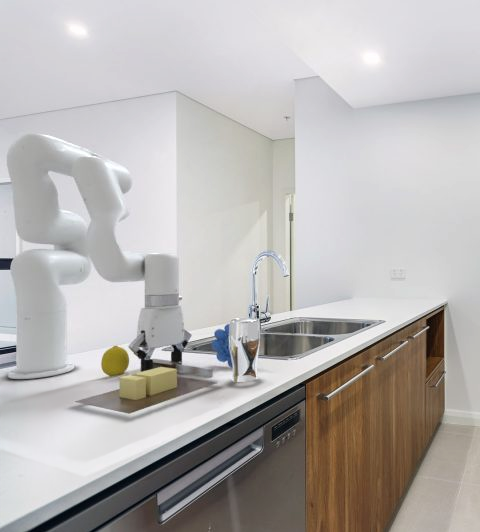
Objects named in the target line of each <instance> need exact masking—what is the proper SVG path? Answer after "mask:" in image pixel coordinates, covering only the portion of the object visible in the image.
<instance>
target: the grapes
mask: <svg viewBox="0 0 480 532" xmlns="http://www.w3.org/2000/svg"><path fill="white" fill-rule="evenodd" d="M229 326H230V323H226V324H225V326H224V329H223V328H222V329H221V328H218V329H216V330H215V331H214V332H213V333H214V338H215V339H214V340H212V341H211V343H210V346H211V349H212V350H214V351H215V352H217V353H216V354H215V355H216V359H217V360H218V361H219V362H221V363H225V362H227V365H228V366H229V367H230V368H232V369H233V366H232V360H231V354H230V349H229Z"/></svg>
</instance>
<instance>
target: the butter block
mask: <svg viewBox="0 0 480 532" xmlns="http://www.w3.org/2000/svg"><path fill="white" fill-rule="evenodd" d="M133 376H138V377H145V378H146V395H150V396H151V395H154V394H157V393H161V392H164V391H167V390H170V389H173V388H176V387H177V377H178V372H177V369H172V368H165V367H158V368H154V369H151V370H147V371H143V372H141V371H139V372H135V373H134V374H133Z"/></svg>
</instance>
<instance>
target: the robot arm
mask: <svg viewBox="0 0 480 532" xmlns="http://www.w3.org/2000/svg"><path fill="white" fill-rule="evenodd" d="M6 166H7V171H8V176H9V178H10V182H11V188H12V189H11V190H12V200H13V201H12V202H13V213H14V222H15V223H14V224H15V230H16V231H15V232H16V234H17V236H18V238H20V240H22V241H24V242H27V243H30V244H38V245H39V244H40V245H53V248H33V249H32V248H31V249H27V250H24V251H21V252H19V253H17V255H15V256H14V257H13V259H12V261H11V263H10V275H11V279H12V282H13V286H14V293H15V304H16V307H15V308H16V310H15V311H16V357H15V358H14V361H15V363H16V368H14V369H12V370H9V371H8V372H7V377H8V378H9V379H12V380H30V379H31V380H32V379H40V378H48V377H51V376H58V375H61V374H65V373H68V372H71V371H73V370H74V369H75V364H74V363H73V362H68V351H67V350H68V347H67V345H68V344H67V343H68V342H67V341H68V340H67V339H68V335H67V334H68V330H67V329H68V324H67V323H68V322H67V321H68V318H67V317H68V312H67V300H66V299H67V298H66V296H65V293H64V292H63V290H62V288H61V286H71V285H78V284H81V283H84V282H85V281H86V280H87V279H88V277H89V276H90V274H91V271H92V265H93V267H94V270H95V271H96V272H97V274H98V275H99V276H100V278H102V279H103V280H105V281H107V282H110V283H128V282H132V283H133V282H134V283H135V282H144V307H141V308H140V311H139V315H138V321H137V329H136V338H134V339H133V340H132V341H131V342H130V343H129V344H128V349H129V350H130V351H131V352H132V353H133V354H134V355H135V356H136V357H137V358H138V359H139V360H140V372H143V371H147V370H151V369H153V360H152V359H153V358H152V355H153V354H154V351H155V349H159V348H164V347H169V346H170V347H171V349H172V351H171V352H170V361H176V362H181V365H183V353H184V351H185V348H186V347H187V345H188V343H189V341H190V339H191V338H192V333H190V332H189V331H188V330H186V329H185V321H184V315H183V310H182V309H183V308H182V305H180V301H182V300H183V297H182V295H180V258H179V256H178V255H177V254H176V253H172V252H150V253H147V252H137V251H123V250H122V248H121V245H120V243H119V240H118V238H117V233H116V228H117V225H118V223H119V222H122V221H123V220H126V219H127V218H128V217H129V216H130V213H131V210H130V208H129V207H130V206H129V205H128V203H127V200H126V198H125V195H124V194H126V193H128V192H129V191H130V190H131V188H132V186H133V177H132V174H131V172H130V171H129V170H128V169H127V167H125V166H124V165H122V164H120V163H118V162H115V161H114V160H110V159H108V158H106V157H104V156H102V155H100V154H98V153H95V152H94V151H91V150H89V149H88V148H84V147H82V146H80V145H76V144H74V143H70V142H67V141H65V140H63V139H59V138H57V137H54V136H51V135H48V134H43V133H37V132H36V133H35V132H34V133H33V132H32V133H24V134H23V135H21V136H18V137H17V138H16V139H15V140H14V141H12V143H11V144H10V146H9V148H8V150H7V153H6ZM49 172H51V173H52V172H53V173H56V174H60V175H64V176H67V177H71V178H73V180H74V182H75V185H76V187H77V189H78V192H79V194H80V196H81V199H82V201H83V204H84V206H85V209H86V210H87V213H88V215H89V218H90V221H89V224H87V222H86V221H85V219H84V217H82V216H81V215H80V214H78V213H76V212H73V211H69V210H64V209H61V208H60V204H59V193H58V189H57V187H56V184H55V183H54V181H53V179H52V178H51V177H50V175H49Z"/></svg>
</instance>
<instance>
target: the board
mask: <svg viewBox="0 0 480 532" xmlns="http://www.w3.org/2000/svg"><path fill="white" fill-rule="evenodd" d="M216 384H217V382H215V381H209V380H204V379H197V378H189V377H185V376H184V377H183V376H177V387H176V388H173V389H170V390H167V391H164V392H161V393H157V394H154V395H151V396H150V395H146V397H145V398H142V399H139V400H132V399H127V398H122V397H120V388H118V389H114V390H112V391H107V392H103V393H99V394H96V395H93V396H90V397H85V398H83V399H79V400H75V401H74V402H75V403H79V404H83V405H88V406H92V407H97V408H102V409H106V410H110V411H115V412H119V413H124V414H129V415H130V414H132V413H136V412H139V411H142V410H144V409H147V408H151V407H153V406H156V405H158V404H161V403H165V402H168V401H170V400H173V399H175V398H178V397H181V396H185V395H187V394H190V393H193V392H196V391H199V390H202V389H205V388H208V387H211V386H214V385H216Z"/></svg>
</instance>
